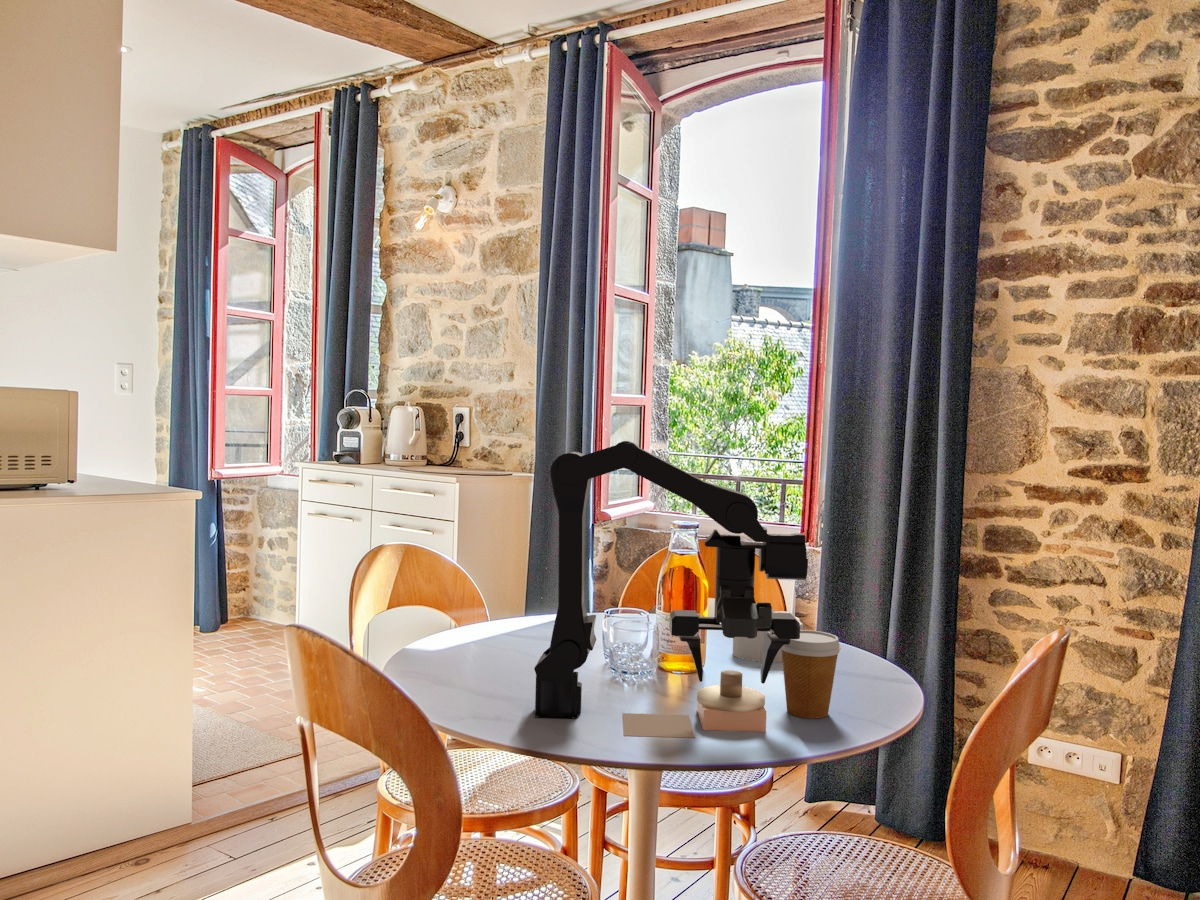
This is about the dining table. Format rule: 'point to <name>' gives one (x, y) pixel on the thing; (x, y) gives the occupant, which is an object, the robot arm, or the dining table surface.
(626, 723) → the mat
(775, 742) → the dining table surface
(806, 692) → the disposable coffee cup
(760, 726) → the dish
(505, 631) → the dining table surface
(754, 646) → the lumpy-topped squat cylinder
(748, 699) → the lid
